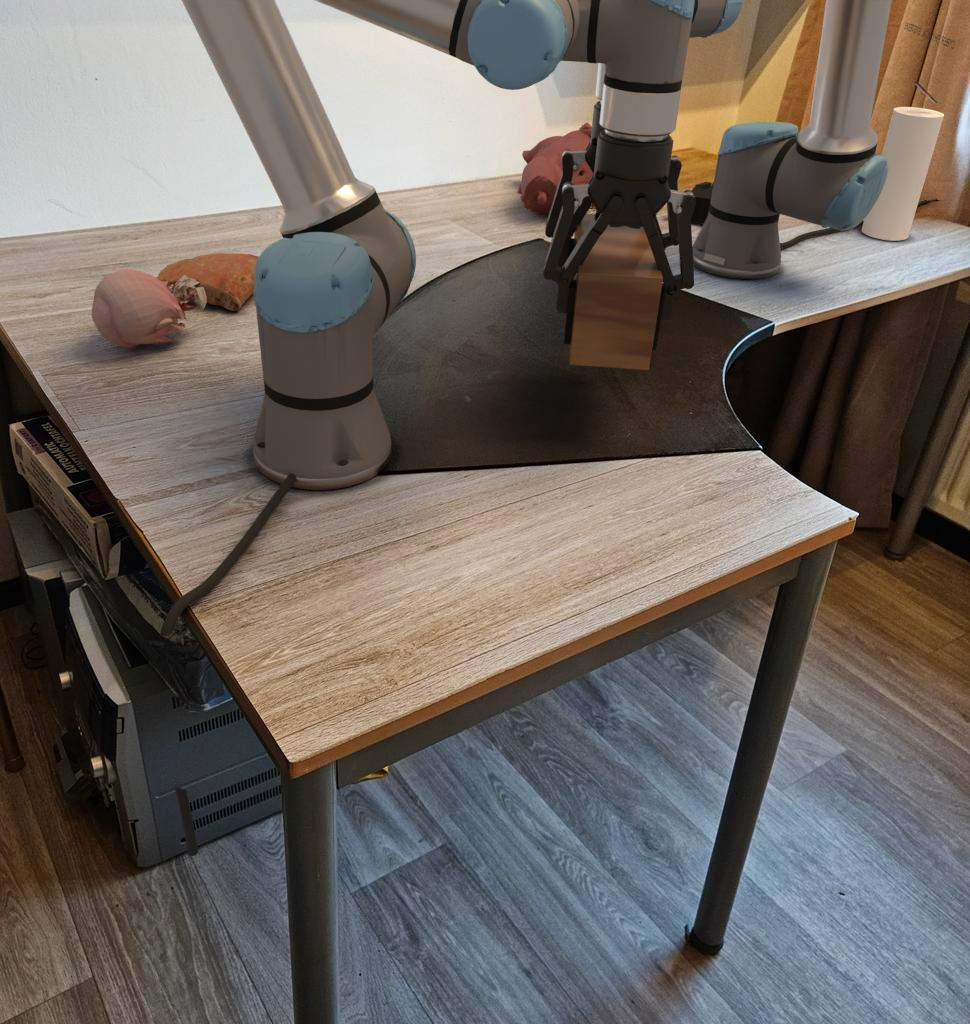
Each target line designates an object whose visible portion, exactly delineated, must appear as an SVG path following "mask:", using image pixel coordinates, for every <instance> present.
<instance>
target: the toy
mask: <svg viewBox="0 0 970 1024" xmlns="http://www.w3.org/2000/svg"><path fill="white" fill-rule="evenodd" d="M713 184H714V181H713V182H710V181H704V182H700V183H697V184H695V185H694V187H693V188H692V190H691V191H692V192H693V194H694V197H695V200H696V204H695V208H694V211H693V214H692V218H691V223H693V224H699V225H704V223H705V221H706V219H707V217H708V214H709V208H710V202H711V196H712V190H713Z"/></svg>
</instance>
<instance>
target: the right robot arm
mask: <svg viewBox="0 0 970 1024" xmlns="http://www.w3.org/2000/svg"><path fill="white" fill-rule="evenodd" d="M892 1H893V0H825V7H824V14H823V19H822V20H823V21H822V27H821V28H822V29H821V35H820V43H819V50H818V57H817V66H816V73H815V80H814V88H813V95H812V103H811V109H810V117H809V123H808V125H806V126H805V127H804V128H803V129H802V130H800V132H799V127H798V125H797V124H794V123H791V122H783V121H752V122H751V121H750V122H743V123H738V124H733V125H731V126H729V127H728V128H727V129H725V130H724V132H723V134H722V138H721V141H720V145H719V149H718V152H717V161H716V167H715V173H714V180H713V182H714V184H713V183H712V184H713V190H712V196H711V202H710V208H709V214H708V217H707V219H706V221H705V223H704V224H702V227H701V228H700V230H699V232H698V234H697V236H696V238H695V240H694V242H693V243H692V248H693V266H694V267H696V268H698V269H699V270H702V271H703V272H706V273H709V274H711V275H715V276H719V277H725V278H730V279H737V280H739V279H741V280H756V279H757V280H760V279H765V278H770V277H772V276H775V275H776V274H777V273H778V272H779V271H780V268H781V262H782V251H781V249H784V248H788V247H791V246H793V245H795V244H797V243H798V242H800V241H802V240H805V239H808V238H811V237H812V238H813V237H816V236H821V235H826V234H831V233H834V232H839V231H849V230H852V229H854V228H858V227H862V226H863V223H864V219H865V217H866V216H867V215H868V214H869V212H870V211H871V209H872V208H873V206H874V205H875V203H876V201H877V199H878V198H879V196H880V193H881V191H882V189H883V186H884V184H885V181H886V177H887V173H888V164H887V163H888V162H887V159H886V158H884V157H883V156H881V155H882V154H877V153H876V152H877V146H878V141H879V137H878V135H877V133H876V132H875V131H874V130H873V128H872V127H871V119H872V114H873V109H874V103H875V97H876V92H877V86H878V81H879V76H880V69H881V64H882V57H883V52H884V46H885V40H886V36H887V31H888V23H889V19H890V12H891V6H892ZM743 4H744V0H694V8H693V17H692V24H691V30H690V36H689V39H693V38H702V39H705V38H708V37H711V36H713V35H717V34H720V33H723V32H725V31H726V30H728V29H729V28H730V27H732V25H734V23H735V22H736V21H737V19H739V16H740V14H741V12H742V9H743ZM597 64H598V65H597V73H596V83H595V92H594V96H595V97H596V98H597V100H598V101H597V102H596V103H594V104H593V110H592V111H593V113H592V120H591V121H592V122H591V126H592V131H591V140H590V143H589V145H588V147H587V148H586V150H583V151H571V150H570V149H565V150H564V151H563V153H562V167H563V170H562V174H561V177H560V180H559V183H558V187H557V190H556V193H555V196H554V200H553V203H552V206H551V209H550V211H549V212H548V216H547V219H546V223H545V226H544V227H545V228H544V232H545V236H546V237H547V238H551V239H552V237H553V234H554V231H555V228H556V225H557V222H558V218H559V215H560V212H561V209H562V206H563V200H562V187H563V185H564V183H566V182H572V177H573V172H574V171H578V170H579V168H580V165H581V163H582V162H584V161H586V162H587V164H588V166H589V167H590V169H591V171H592V172H593V174H594V168H595V159H596V150H597V141H598V134H599V133H600V132H601V131H602V130H604V128H602V126H601V125H600V123H599V122H600V113H601V104H602V95H603V86H604V76H605V64H603V63H597ZM682 167H683V164H682V161H681V159H680V156H678V155H676V154H675V155H671V162H670V168H669V175H668V185H669V187H670V189H671V190H675V191H679V185H678V181H679V178H680V174H681V171H682ZM592 177H593V176H592ZM591 179H592V178H591ZM591 179H590V180H591ZM926 203H929V201H927V200H924V201H921V202H918V206H917V207H919V206H922V205H924V204H926ZM592 205H593V203H592V201H591V199H590V197H589V196H587V197H585V198H584V199H583V200H582V204H581V205H580V206H579V207H575V208H574V215H573V219H572V222H571V225H570V228H569V231H568V235H567V238H566V241H565V244H564V247H563V250H562V253H561V256H560V259H559V262H558V265H557V266H559V267H561V268H562V267H563V266H564V264H565V262H566V261H567V259H568V257H569V256H570V254H571V253H572V251H573V249H574V248H575V238H574V234H575V231H576V229H577V224H580V223H581V221H582V220H583V218H584V216H585V215H586V214H588V212H589V210H590V208H591V207H592ZM666 213H667V222H668V223H667V227H668V232H665V233H663V232H662V228H661V226H660V223H659V221H658V217H657V214H656V215H655V216H654V220H655V223H656V226H657V229H658V232H659V235H660V238H661V241H662V244H663V247H664V250H665V251H666V249H667V248H669V247H672V246H674V247H678V246H679V240H678V225H677V214H676V213H674V211H673V208H672V203H671V202H669V201H668V202H667V203H666ZM780 216H786V217H789V218H793V219H796V220H799V221H803V222H806V223H810V224H813V225H816V226H820V227H821V228H823V229H817V230H813V231H809V232H805V233H802V234H799V235H797V236H795V237H794V238H792V239H789V240H788V241H784V242H780V231H779V220H780Z"/></svg>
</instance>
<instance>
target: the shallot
mask: <svg viewBox="0 0 970 1024" xmlns="http://www.w3.org/2000/svg"><path fill="white" fill-rule="evenodd" d="M167 283H168V281H167V282H162V281H160V280H158V279H157V277H155V276H154V275H152V274H149V273H146V272H144V271H141V270H136V269H122V270H117V271H114V272H112V273H108V274H107V275H105V276H104V277H103V278H102V279H101V280H100V281H99V283H97V285H96V287H95V289H94V293H93V302H92V306H91V318H92V319H91V320H92V321H93V323H94V325H95V328H96V329H97V331H98V333H99V334H100V335H101V336H102V337H103V338H104V339H105V340H106V341H108V342H109V343H111V344H113V345H115V346H117V347H118V346H119V347H121V348H126V349H127V348H134V347H138V346H140V345H150V344H155V345H157V344H158V345H162V343H165V342H167V343H168V342H169V343H174V341H173V340H172V339H171V338H170V337H168V336H166V335H168V334H170V333H173V332H175V333H178V334H182V333H183V332H184V329H183V328H186V324H185V323H183V322H179V320H181V321H183V320H185V321H186V322H188V319H187V317H186V312H187V311H191V310H193V309H195V308H196V309H197V310H198V311H200V312H201V313H203V312H204V310H205V308H206V305H207V304H208V303H207V302H206V294H205V290H204V287H198V286H199V285H200V282H199V281H198V280H194V279H192V278H188V277H187V276H186V275H183V276H182V277H180V278H179V280H178V281H177V282H176V283H175V284H171V285H169V286H168V288H167Z"/></svg>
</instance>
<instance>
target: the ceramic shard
mask: <svg viewBox="0 0 970 1024" xmlns="http://www.w3.org/2000/svg"><path fill="white" fill-rule="evenodd" d="M258 258H259V255H254V254H251V253H210V254H203V255H196V256H194V257H191V258H184V259H181V260H178V261H176V262H173V263H169V264H167V265H166V266H165V267H164V268H163V269H162V270H160V272H159V273H158V275H157V277H156V278H157V279H158V280H160V281H162V282H167V281H168V283H167V288H168V286H169V285H171V284H175V283H176V282H177V281H178V280H179V278H180V277H182V276H183V275H186V276H187V277H188V278H192V279H194V280H198V281H199V282H200V285H199V286H198V287H204V290H205V294H206V302H207V304H209V305H214V306H218V307H219V306H220V307H222V308H224V309H226V310H228V311H231V312H232V311H233V312H236V311H239V310H240V309H241V308H242V307H243V305H244V304H245V302H246V301H247V300H248V299H249V298H250V297H251V296H252V294H253V290H254V282H255V275H254V271H255V265H256V262H257V259H258Z"/></svg>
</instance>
